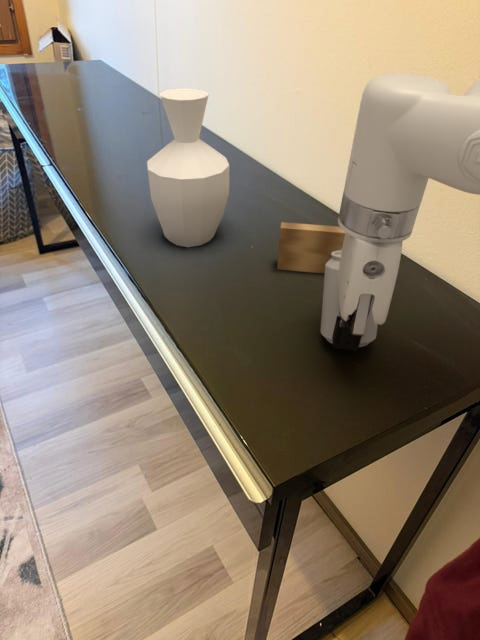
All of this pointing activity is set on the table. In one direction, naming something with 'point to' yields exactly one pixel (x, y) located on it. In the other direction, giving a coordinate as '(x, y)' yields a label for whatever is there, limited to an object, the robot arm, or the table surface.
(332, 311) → the can
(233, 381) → the table surface
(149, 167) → the vase
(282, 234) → the wooden board
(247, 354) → the table surface
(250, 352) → the table surface
